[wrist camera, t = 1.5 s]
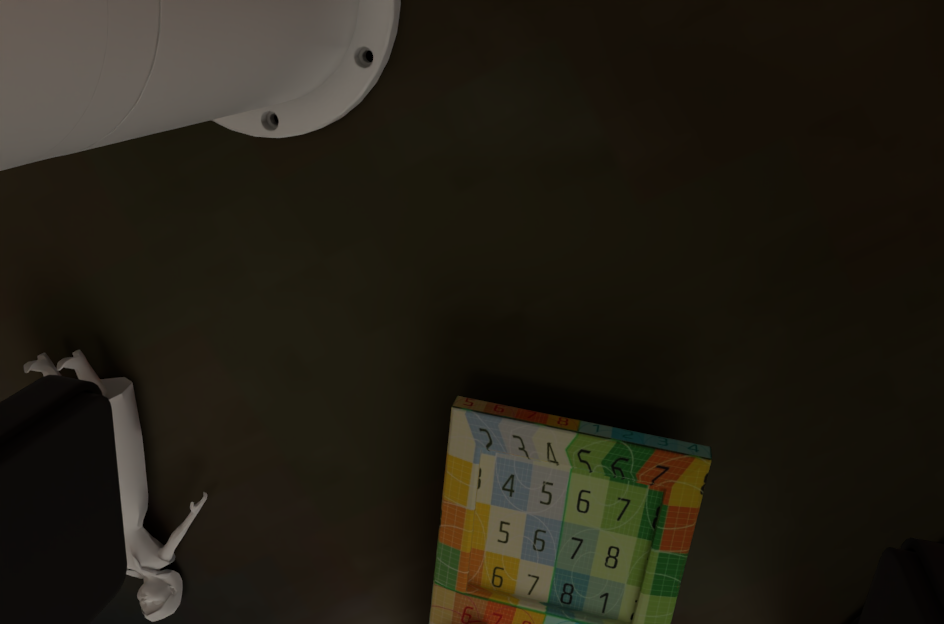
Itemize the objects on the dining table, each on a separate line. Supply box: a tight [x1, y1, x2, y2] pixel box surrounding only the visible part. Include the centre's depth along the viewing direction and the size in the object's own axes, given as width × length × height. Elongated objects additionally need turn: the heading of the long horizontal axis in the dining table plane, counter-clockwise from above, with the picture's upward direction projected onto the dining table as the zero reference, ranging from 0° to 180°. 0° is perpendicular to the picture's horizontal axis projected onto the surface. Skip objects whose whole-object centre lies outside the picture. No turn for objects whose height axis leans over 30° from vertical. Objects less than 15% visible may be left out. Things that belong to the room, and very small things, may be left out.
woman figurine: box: [24, 349, 208, 622], centre depth 46 cm, size 12×4×18 cm
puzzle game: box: [429, 396, 712, 624], centre depth 41 cm, size 12×5×20 cm
